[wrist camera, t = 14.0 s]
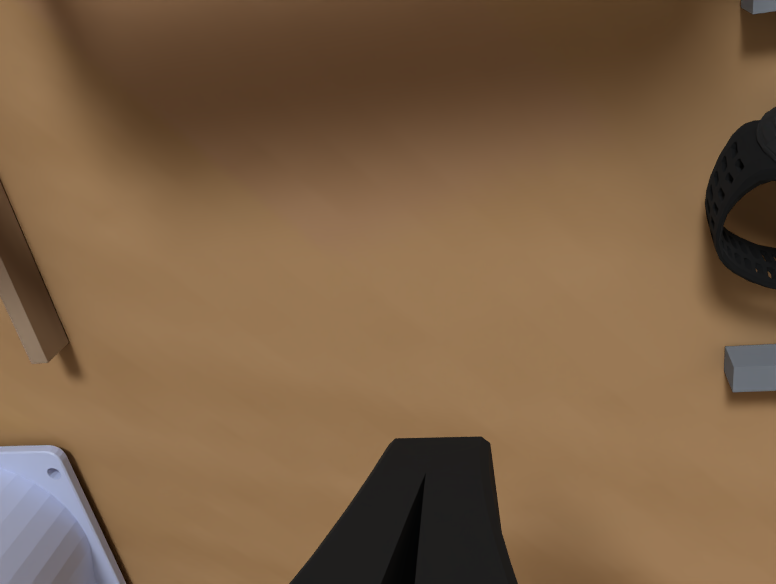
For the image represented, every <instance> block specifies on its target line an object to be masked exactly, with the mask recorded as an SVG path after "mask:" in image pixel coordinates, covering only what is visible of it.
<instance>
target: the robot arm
mask: <svg viewBox="0 0 776 584" xmlns="http://www.w3.org/2000/svg"><path fill="white" fill-rule="evenodd" d="M0 584H126V582H125V580H124V578H123V575H122V573H121V571H120V569H119V567H118V565H117V563H116V560H115V558H114V556H113V554H112V552H111V550H110V548H109V545H108V543H107V541H106V539H105V537H104V535H103V533H102V530H101V528H100V526H99V524H98V522H97V520H96V518H95V516H94V513H93V511H92V509H91V507H90V505H89V503H88V501H87V498H86V496H85V494H84V492H83V490H82V488H81V486H80V483H79V481H78V479H77V477H76V475H75V473H74V471H73V468H72V466H71V464H70V462H69V460H68V458H67V456H66V454H65V453H64V451H63V450H61V449H60V448H58V447H56V446H51V445H39V446H0ZM289 584H518V583H517V580H516V577H515V574H514V571H513V568H512V565H511V562H510V559H509V555H508V552H507V549H506V545H505V542H504V538H503V535H502V531H501V523H500V516H499V508H498V500H497V492H496V485H495V477H494V469H493V461H492V453H491V446H490V443H489V442H488V441H486V440H485V439H484V438H483V437H442V438H398V439H394V440H393V441H392V442H391V443H390V444H389V445H388V447H387V449H386V450H385V452H384V453H383V455H382V456H381V458H380V460H379V461H378V463H377V464H376V466H375V467H374V469H373V470H372V472H371V473H370V475H369V477H368V478H367V480H366V481H365V483H364V484H363V486H362V487H361V489H360V490H359V491H358V493H357V494H356V496H355V497H354V499H353V500H352V502H351V503H350V505H349V506H348V507H347V509H346V510H345V512H344V513H343V514H342V516H341V517H340V519H339V520H338V521H337V523H336V524H335V525H334V527H333V528H332V529H331V531H330V532H329V534H328V535H327V536H326V538H325V539H324V540H323V542H322V543H321V544H320V546H319V547H318V549H317V550H316V551H315V552H314V554H313V555H312V556H311V558H310V559H309V560H308V561H307V563H306V564H305V565H304V566H303V568H302V569H301V570H300V571H299V572H298V574H297V575H296V576H295V577H294V579H293V580H292V581H291V582H290V583H289Z"/></svg>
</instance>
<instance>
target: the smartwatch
mask: <svg viewBox="0 0 776 584" xmlns="http://www.w3.org/2000/svg"><path fill="white" fill-rule="evenodd" d="M769 181H776V107H775V108H773V109H772V110H770V111H768V112H767V113H765V115H764V116H763V117H762V119H761V120H757V121H752V122H749V123H746V124H744V125H743V126H741V127H740V128H739V129H738V130H737V131H736V132H735V133H734V134H733V135H732V136H731V138H730V139H729V141H728V143H727V144H726V146H725V147H724V149H723V151H722V152H721V154H720V155H719V158H718V160H717V162H716V164H715V167H714V169H713V171H712V174H711V176H710V179H709V183H708V187H707V190H706V199H705V207H706V214H707V220H708V224H709V227H710V231H711V235H712V239H713V242H714V246H715V249H716V252H717V254H718V256H719V259H720V260H721V261H722V263H723V264H724V265H725V266H726V267H727V268H728V269H729V270H731V271H732V272H733V273H735V274H737V275H738V276H740V277H742V278H744V279H746V280H748V281H750V282H753V283H756V284H758V285H761V286H764V287H768V288H772V289H776V261H775V259H774V257H775V258H776V248H771V247H766V246H761V245H757V244H754V243H752V242H750V241H747V240H745V239H743V238H740V237H739V236H737V235H735V234H733V233H731V232H730V231H728V230H727V229H726V228H725V227H723V225H724V222H725V220H726V217H727V214H728V213H729V212H730V210H731V209H732V208H733V207H734V205H735V204H736V203H737V202H738V201H739V200H740V199H741V198H742V197H743V196H744V195H745V194H746V193H748V192H749V191H751V190H752V189H754V188H755V187H757V186H759V185H760V184H763V183H766V182H769ZM762 255H763V256H764V258H765V260H766V261H765V260H764V258H763V257H762ZM756 269H757V272H756ZM767 271H769V272H770V274H771V278H772V279H771V278H770V277H768V273H767Z"/></svg>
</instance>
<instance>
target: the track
mask: <svg viewBox="0 0 776 584" xmlns="http://www.w3.org/2000/svg"><path fill="white" fill-rule="evenodd" d="M0 297H1V299H2V301H3V303H4V305H5V308H6V310H7V312H8V314H9V316H10V318H11V321H12V323H13V325H14V327H15V329H16V331H17V334H18V336H19V338H20V340H21V342H22V344H23V347H24V349H25V351H26V353H27V355H28V357H29V360H30V362H31V364H36V363H48V362H49V361H50V360H51V359H52V358H53V357H54V356H55V355H57V354H58V353H59V352H60V351H61V350H62V349H63V348H64V347H65V346H66V345H67V344H68V343H69V341H68V339H67V337H66V334H65V332H64V330H63V327H62V325H61V323H60V320H59V318H58V316H57V313H56V311H55V309H54V306H53V304H52V302H51V299H50V297H49V295H48V292H47V290H46V287H45V285H44V283H43V280H42V278H41V276H40V273H39V271H38V269H37V266H36V264H35V262H34V259H33V257H32V255H31V252H30V250H29V248H28V245H27V243H26V241H25V238H24V236H23V234H22V231H21V229H20V227H19V224H18V222H17V220H16V217H15V215H14V213H13V210H12V208H11V206H10V203H9V201H8V199H7V196H6V194H5V192H4V189H3V187H2V185H1V182H0Z"/></svg>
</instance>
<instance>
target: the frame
mask: <svg viewBox="0 0 776 584" xmlns="http://www.w3.org/2000/svg"><path fill="white" fill-rule="evenodd" d="M741 8H743V9H744V10H746V11H748V12H750V13H751V14H758V13H765V12H772V11H776V0H741ZM724 372H725V374H726V377H727V379H728V382H729V384H730V387H731V389H732V392H751V391H776V344H766V345H746V346H725V362H724Z"/></svg>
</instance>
